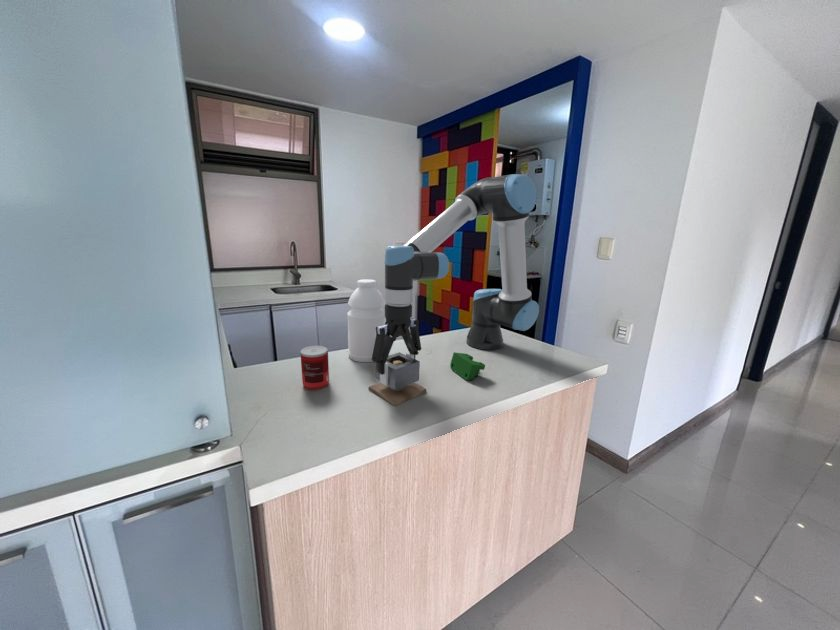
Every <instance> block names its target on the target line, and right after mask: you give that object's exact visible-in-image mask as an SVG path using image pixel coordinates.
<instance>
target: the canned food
mask: <svg viewBox="0 0 840 630" xmlns="http://www.w3.org/2000/svg"><path fill="white" fill-rule="evenodd" d="M300 364H301V365H300V367H301V378H302V379H301V380H302V385H303V387H304V389H306V390H309V389H310V391H318V390H322V389H325V388H326V387H327V386H328V385H329V383H330V371H329V370H330V368H329V349H328V348H327V347H325V346H323V345H309V346H306V347H303V348H301V350H300ZM317 389H318V390H317Z"/></svg>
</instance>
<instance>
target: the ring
mask: <svg viewBox="0 0 840 630" xmlns="http://www.w3.org/2000/svg"><path fill="white" fill-rule="evenodd" d="M394 361H402V364H400V365H397V366H396V365H394V364H393V362H394ZM374 363H375V364H374V365H375V366H374V367H375V372H374V373H375V377H374V379H375V380H377V381H379V382H380V374H379V373H378V363H376V362H374ZM386 363H388V385H387V386H389V387H391V388H393V389H394V390H396V389H399V388H401V387H404V386H406V385H409V384H412V383H416V382H419V381H420V367H421V364H420V360H418V359H416V358H415V359H413V358H411V357H409V356H407V355H406V354H404V353H402V352H396V353H393V354H389V355H388V358H387V360H386Z"/></svg>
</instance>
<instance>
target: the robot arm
mask: <svg viewBox="0 0 840 630" xmlns="http://www.w3.org/2000/svg"><path fill="white" fill-rule="evenodd" d="M535 203H537V189H536V185H535V184H534V181H533V180H532V179H531V177H529V175H526V174H521V173H520V174H517V173H514V174H513V173H512V174H506V175H499V176H490V177H485V178H482V179H480V180H478V181H476V182H475V183H473V184H471V185H469V187H467V188H466V189H465V190H463V191H462V192H461V193H460V194H458V195H457V196H456V197H455V199H454V202H453V203H452V204H451V205H450V206H449V207H448V208H446V209H445V210H444V211H443V212H442V213H440V214H439V215H438V216H437V217H435V218H434V219H433V220H432V221H430V222H429V224H427V225H426V226H425V227H424V228H422V229H421V230H420V231H418V233H416V234H415V235H414V236H413V237H411V238H410V239H409V240H407V241H406V243H404V244H403V245H389V246H388V245H387V246H386V248H385V255H384V299H385V302H386V304H385V306H384V310H385V318H386V322H385V325H383V326H376V339H375V344H374V349H373V355H372V361H374V362H373V363H375V362H376V363H378V373H379V374H380V381H379V383H382V384H384V385H385V386H387V385H388V363H386V360H387V358H388V356H389V355H390V352H391V351H392V347H393V345H394V342H396V341H397V338H399V337H400V336H401V338H402V339H403V341H404V345H405V346H406V349H407V351H408V352H405V353H406V354H405V355H407V356H409V357H411V358H413V359H416V356H418V355H419V352H420V351H421V350H422V344H421V336H420V330H419V325H420V321H419V319H416V318H412V316H413V304H412V303H413V291H414V282H415V281H425V280H426V281H427V280H437V279H443V278H445V277H447V274H448V273H449V270H450V261H449V259H448V256H447V255H446V254H445V253H443V252H437V251H436V252H435V251H434V250H436V249H437V248H438V247H439V246H440V245H441V244H443V243H444V242H445V241H446V240H447V239H448V238H449V237H451V236H452V235H453V234H455V232H456V231H457V230H459V229H460V228H461V227H462V226H463V225H464V224H466V223H467V222H468V221H473V220H475V219H476V218H477V217H478V216H481V215H484V214H492V222H494V223H495V224H496V225H497V228H498V242H499V243H498V245H499V258H500V271H501V287H502V289H501V288H483V289H481V288H480V289H478V290H475V292H474V293H473V299H472V315H471V326H470V327H469V331H468V333H467V336H466V340H465V341H466V345H468V346H469V347H471V348H475V349H478V350H488V351H492V350H493V351H495V350H500V349H501V348H503V346H504V338H503V332H502V329H501V326H504V327H508V328H511V329H513V330H518V331H523V332H525V331H528V330H529V329H531V327H532V326H534V324H535V323H536V321H537V319H538V316H539V313H540V305H539V303H538V302H537V301H535V300H533V298H532V296H533V295H532V291H531V290H530V289H528V283H527V282H528V280H527V256H526V230H525V226H526V225H525V224H526V221H527V219H528V218H529V217H530V212H531V211H533V209H534V208H535V205H536V204H535Z"/></svg>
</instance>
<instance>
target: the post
mask: <svg viewBox="0 0 840 630" xmlns="http://www.w3.org/2000/svg"><path fill="white" fill-rule="evenodd" d="M393 364H394V365H396V366H397V365H400V364H402V361H394V362H393ZM368 390H369V392H372V393H374V394H375V395H376V396H379V397H380V398H382V399H383V400H385V401H386V402H388V403H390V404H391V405H393V406H397V405H400V404H403V403H404V402H407V401H408V400H411V399H413V398H415V397H418V396H420V395H422V394H425V393H427V388H426V387H424V386H422V385H420V384H418V383H416V382H414V383H412V384H409V385H406V386H404V387H401V388H399V389H396V390H394V389H393V388H391V387H389V386H385V385H384V384H382V383H380V382H378V383H377V382H376V383H374V384H371V385H369V386H368Z"/></svg>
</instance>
